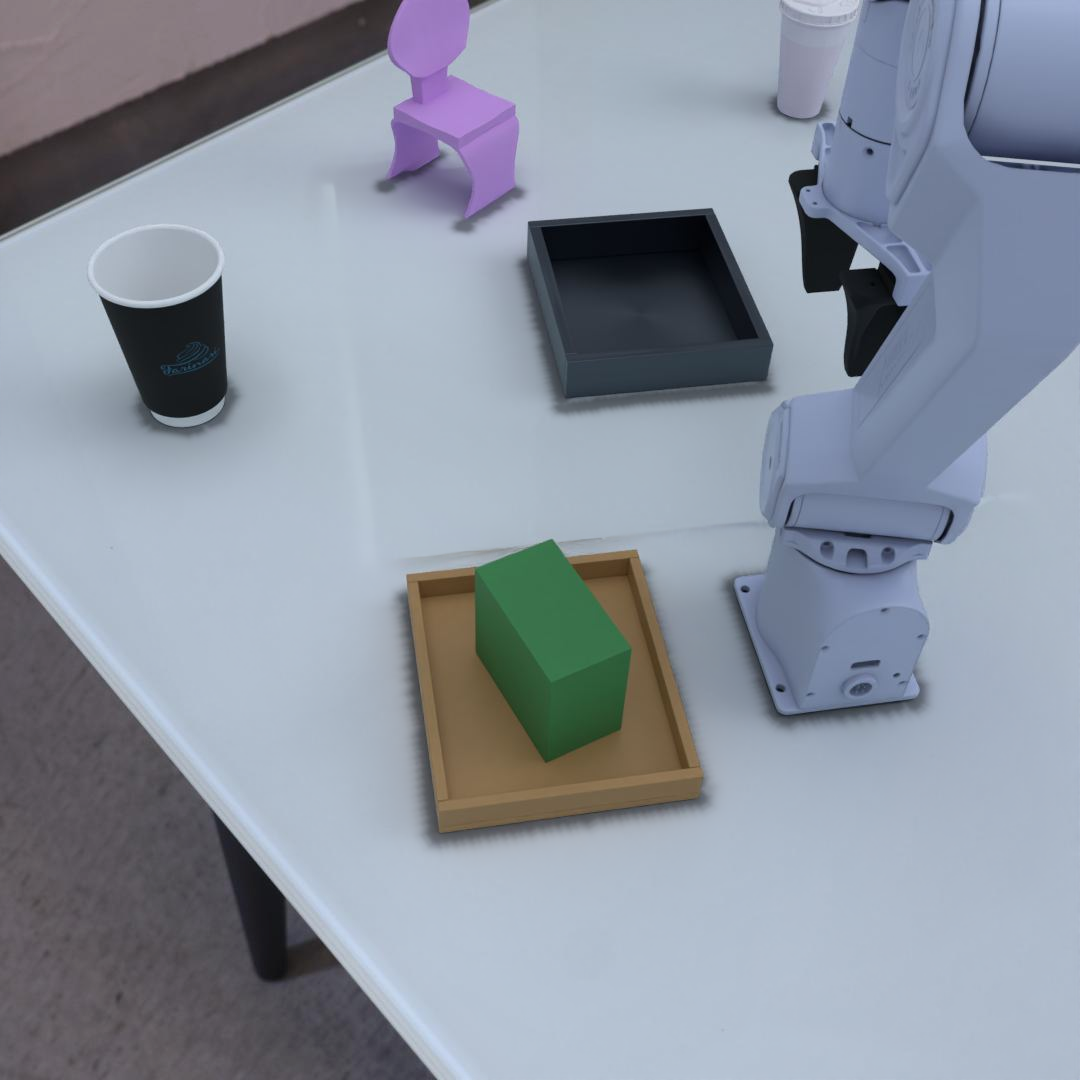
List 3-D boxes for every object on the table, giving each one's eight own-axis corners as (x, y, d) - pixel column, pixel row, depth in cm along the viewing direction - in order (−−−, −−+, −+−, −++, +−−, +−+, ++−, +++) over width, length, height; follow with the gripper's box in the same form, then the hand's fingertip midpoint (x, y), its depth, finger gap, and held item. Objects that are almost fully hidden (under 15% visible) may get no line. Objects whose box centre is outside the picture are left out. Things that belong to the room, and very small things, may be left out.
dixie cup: (165, 350, 88) (132, 210, 80) (271, 379, 87) (248, 239, 78) (100, 425, 83) (58, 284, 75) (211, 457, 82) (180, 317, 73)
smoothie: (749, 93, 114) (776, -71, 103) (816, 83, 115) (849, -79, 105) (780, 131, 109) (811, -36, 99) (849, 121, 111) (886, -44, 100)
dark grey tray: (764, 388, 88) (774, 344, 85) (564, 407, 86) (567, 362, 83) (706, 251, 98) (712, 207, 95) (526, 264, 96) (527, 220, 93)
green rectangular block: (547, 622, 73) (552, 538, 68) (621, 729, 68) (632, 647, 63) (475, 651, 71) (474, 567, 66) (545, 763, 67) (550, 682, 62)
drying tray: (698, 798, 66) (703, 776, 65) (439, 833, 65) (438, 811, 63) (634, 572, 76) (637, 548, 75) (407, 598, 75) (406, 573, 73)
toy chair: (459, 236, 98) (456, 46, 87) (373, 191, 102) (360, 3, 90) (529, 189, 103) (534, 2, 91) (445, 148, 106) (441, -36, 95)
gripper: (778, 50, 70) (741, 259, 81) (868, 203, 61) (814, 419, 71) (902, 43, 71) (851, 251, 81) (1010, 193, 62) (936, 407, 72)
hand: (841, 329), depth 76 cm, fingers open, 7 cm apart
